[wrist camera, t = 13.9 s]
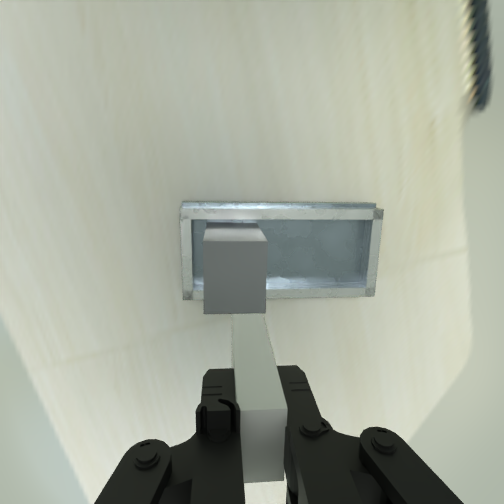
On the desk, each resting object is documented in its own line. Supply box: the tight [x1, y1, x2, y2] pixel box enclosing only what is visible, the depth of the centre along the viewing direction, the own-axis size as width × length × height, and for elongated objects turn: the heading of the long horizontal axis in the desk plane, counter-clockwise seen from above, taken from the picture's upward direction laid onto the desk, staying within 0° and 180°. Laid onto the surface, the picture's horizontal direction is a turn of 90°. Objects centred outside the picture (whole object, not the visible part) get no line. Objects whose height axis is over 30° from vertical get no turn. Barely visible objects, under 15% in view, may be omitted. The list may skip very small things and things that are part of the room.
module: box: [203, 222, 268, 314], centre depth 32 cm, size 6×5×9 cm
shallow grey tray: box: [180, 201, 384, 300], centre depth 36 cm, size 10×20×3 cm, turn 89°
